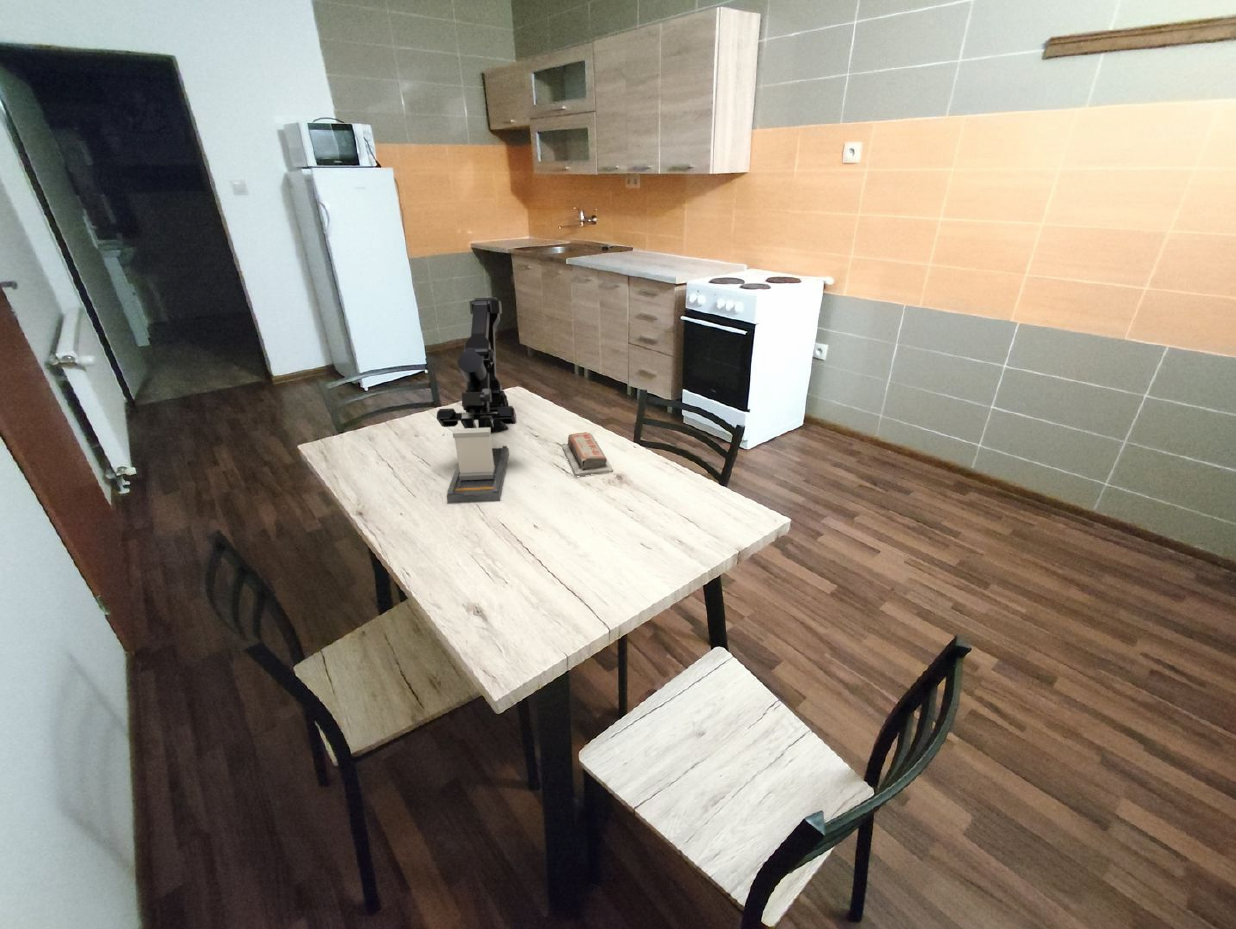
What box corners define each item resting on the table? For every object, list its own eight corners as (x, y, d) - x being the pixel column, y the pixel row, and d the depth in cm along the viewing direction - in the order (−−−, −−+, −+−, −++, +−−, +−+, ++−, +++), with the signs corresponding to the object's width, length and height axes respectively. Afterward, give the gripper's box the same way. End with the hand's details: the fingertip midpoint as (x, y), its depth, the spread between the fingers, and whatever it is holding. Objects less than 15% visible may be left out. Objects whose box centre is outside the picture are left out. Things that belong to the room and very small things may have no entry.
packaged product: (560, 433, 155) (595, 428, 157) (561, 449, 157) (596, 444, 160) (574, 462, 140) (613, 457, 142) (575, 479, 142) (613, 474, 144)
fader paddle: (462, 470, 141) (455, 426, 135) (496, 469, 141) (490, 425, 136) (458, 480, 136) (451, 435, 131) (494, 478, 137) (488, 434, 131)
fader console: (464, 456, 153) (462, 447, 151) (509, 454, 154) (508, 445, 152) (447, 503, 132) (445, 492, 130) (499, 500, 132) (498, 490, 131)
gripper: (431, 377, 135) (429, 439, 131) (510, 375, 137) (511, 435, 132) (443, 397, 146) (441, 454, 141) (516, 394, 147) (516, 451, 143)
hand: (477, 448), depth 139 cm, fingers closed
